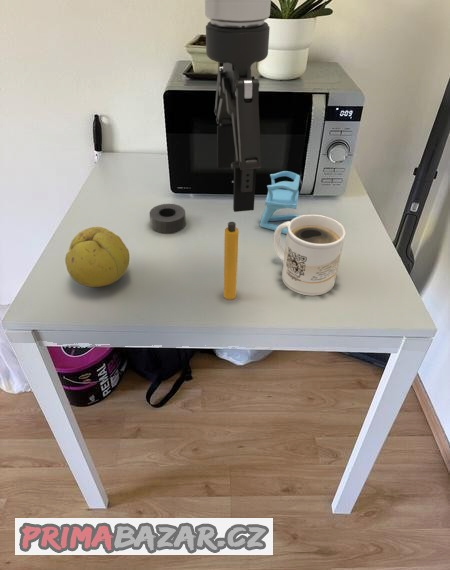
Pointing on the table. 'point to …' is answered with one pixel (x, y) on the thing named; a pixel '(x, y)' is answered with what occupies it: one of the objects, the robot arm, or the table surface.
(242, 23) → the robot arm
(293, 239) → the mug
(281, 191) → the chair
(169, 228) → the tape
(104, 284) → the fruit
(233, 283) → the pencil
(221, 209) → the table surface
